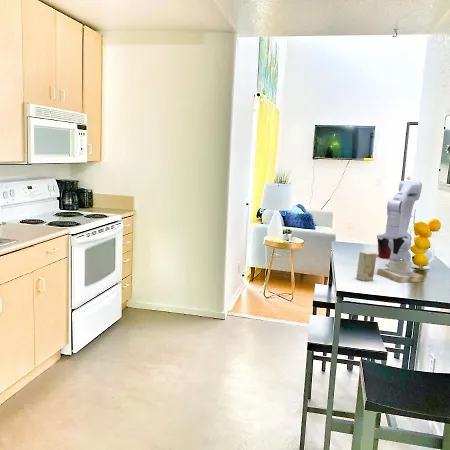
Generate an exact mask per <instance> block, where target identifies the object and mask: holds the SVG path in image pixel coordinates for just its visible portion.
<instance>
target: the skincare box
mask: <svg viewBox="0 0 450 450" xmlns="http://www.w3.org/2000/svg"><path fill="white" fill-rule="evenodd" d="M376 260H377V253H375V252H372V251H359V256H358V263H357V269H356V270H357V271H356V277H355V278H356V279H357V280H360V281H363V282H367V281H368V282H370V281H374V276H375V270H376V269H375V267H376Z"/></svg>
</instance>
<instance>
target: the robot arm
mask: <svg viewBox="0 0 450 450" xmlns="http://www.w3.org/2000/svg"><path fill="white" fill-rule="evenodd" d="M422 186H423V184H422V182H421V181H411V180H401V181H400V182H399V184H398V192H396V194H394V196H393V198H392V199H390V200H388V201H387V204H386V211H387V212H386V215H387V217H386V218H387V219H386V225H385V226H386V227H385V233H383V234H377V235H378V239H377V243H378V242H379V245H380V249H381V254H383V255H385V254H386V250H387V246H389V247H390V249H391V255H390V258H389V263H385V267H386V266H387V267H390V260H392V259H399V258H401V259H404V261H407V262H411V257H412V255H411V252H410V250H411V247H412V240H413V239H412V235H411V234H410V232H408V230H409V226H410V222H411V217H412V213H413V209H414V204H415V202H416V201H418V200H419V199H420V197H421V193H422ZM386 239H389V241H387V240H386Z"/></svg>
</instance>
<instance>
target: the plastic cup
mask: <svg viewBox="0 0 450 450" xmlns="http://www.w3.org/2000/svg"><path fill="white" fill-rule="evenodd" d="M378 235H379V234H377V235H376V237H377V240H378ZM386 240H387V241H389V239H386ZM377 251H378V252H377V253H378V258H380V259H388V260H390V255H391V249H390V247H389V246H387V250H386V254H385V255H383V254H381V249H380V245H379V242H378V241H377Z"/></svg>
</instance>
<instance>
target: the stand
mask: <svg viewBox="0 0 450 450" xmlns="http://www.w3.org/2000/svg"><path fill="white" fill-rule="evenodd" d="M376 274H377V275H379V276H381V277H384V278H386V279H389V280H391V281H394V282H397V283H400V284H401V283H417V282H419V283H420V282H424V278H425V276H424V275H422V274H420V273H416V272H413V271H411V272H410V273H409V274H402V273H398V272H394V271H390V270H389V268H377V272H376Z"/></svg>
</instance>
